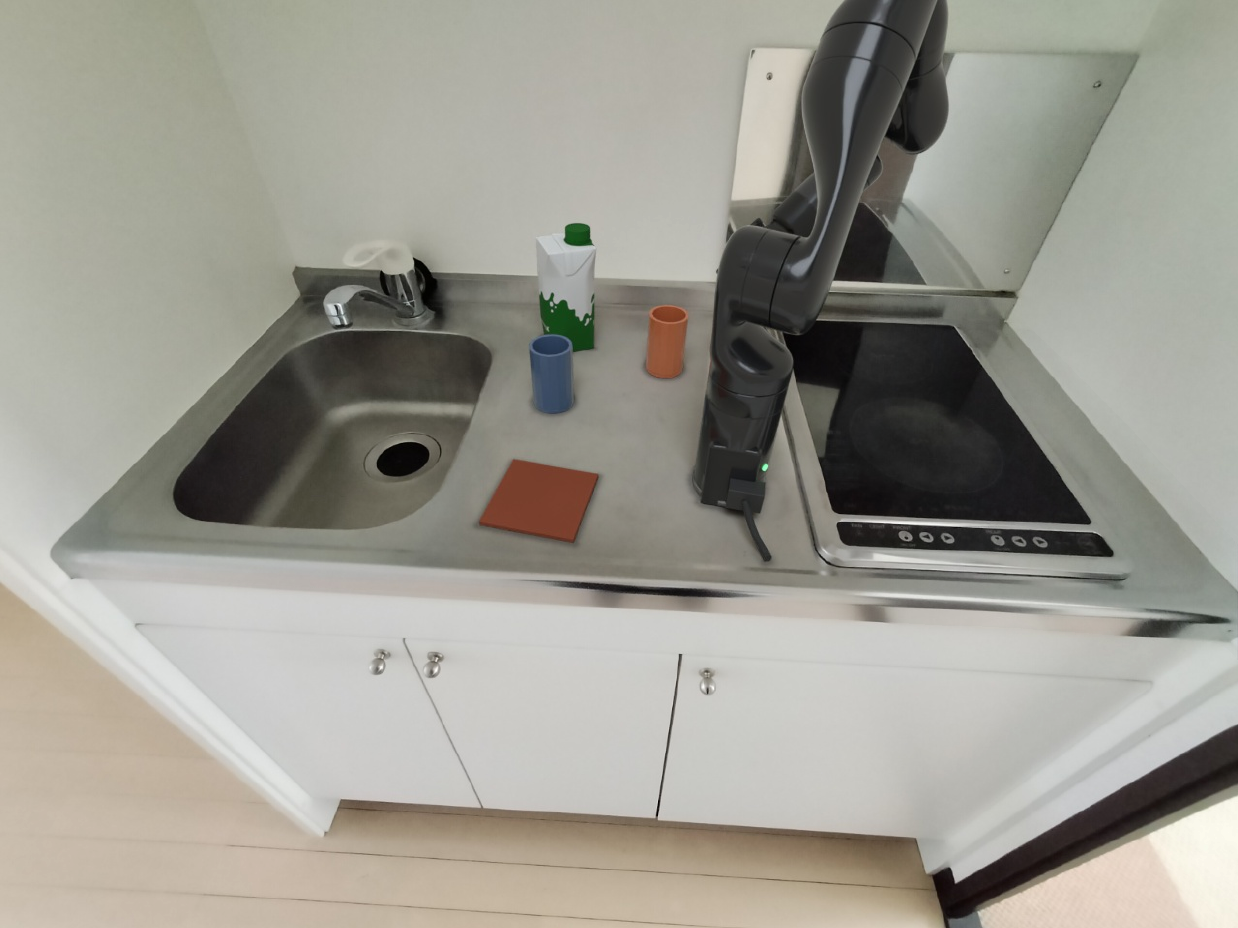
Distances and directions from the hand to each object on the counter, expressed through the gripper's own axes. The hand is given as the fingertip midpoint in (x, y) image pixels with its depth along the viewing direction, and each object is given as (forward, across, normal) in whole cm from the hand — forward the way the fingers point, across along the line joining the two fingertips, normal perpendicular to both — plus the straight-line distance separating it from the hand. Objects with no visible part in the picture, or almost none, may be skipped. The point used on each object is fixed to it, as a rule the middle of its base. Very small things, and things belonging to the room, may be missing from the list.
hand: (729, 288), depth 94 cm
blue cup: (+30, +5, -11) cm, 33 cm away
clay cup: (+16, 0, +3) cm, 17 cm away
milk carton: (+26, -12, -7) cm, 30 cm away
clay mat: (+34, +26, -15) cm, 46 cm away
